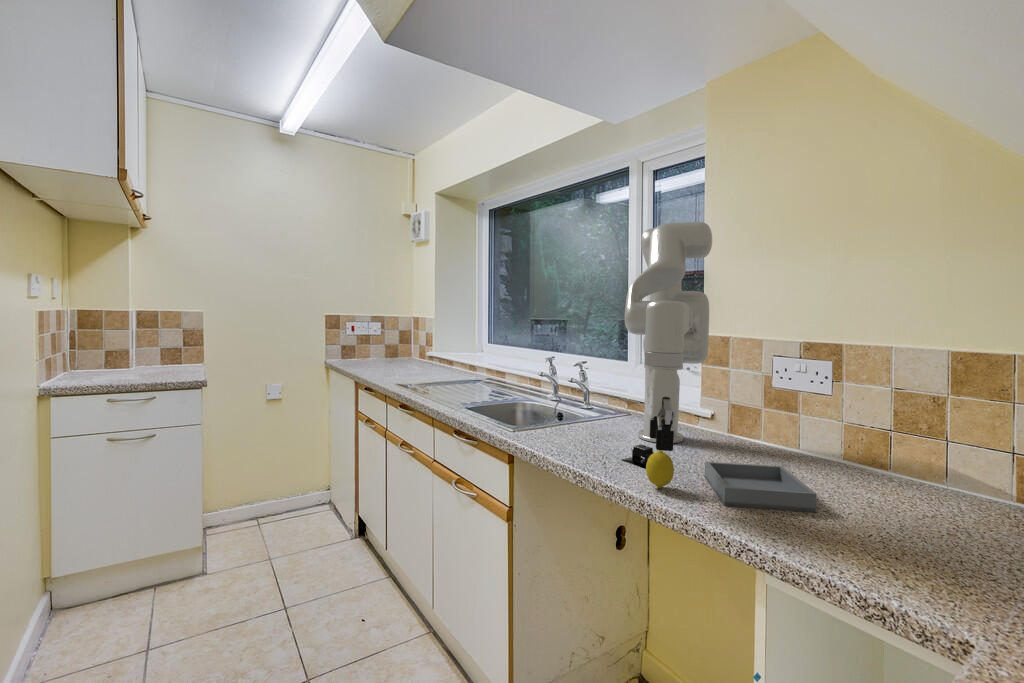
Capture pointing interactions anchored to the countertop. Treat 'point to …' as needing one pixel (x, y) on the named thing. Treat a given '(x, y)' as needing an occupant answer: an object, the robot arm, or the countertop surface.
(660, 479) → the lemon
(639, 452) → the black arched block
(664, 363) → the robot arm
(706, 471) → the tray
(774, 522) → the countertop surface
